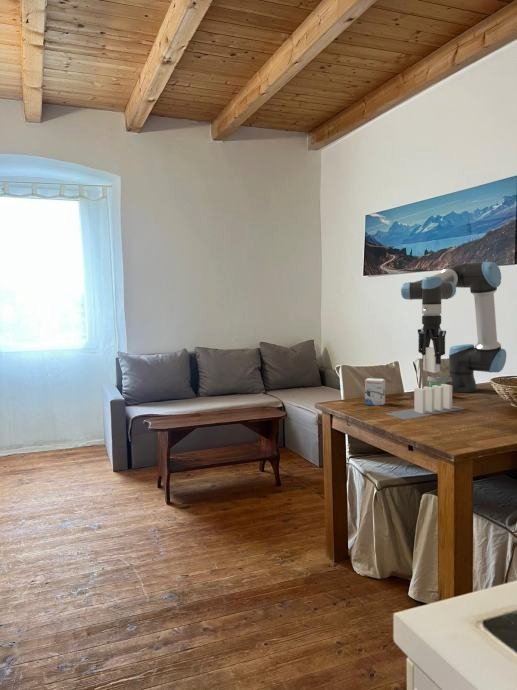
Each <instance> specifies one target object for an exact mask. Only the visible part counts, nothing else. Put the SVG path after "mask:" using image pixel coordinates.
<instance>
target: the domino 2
mask: <svg viewBox="0 0 517 690" xmlns="http://www.w3.org/2000/svg"><path fill="white" fill-rule="evenodd" d="M434 355H435V352H434V346H433V347H430V346H429V347H426V371H425V372H428V373H434V374H435V373H437V372H433V359H434Z"/></svg>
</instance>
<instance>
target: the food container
mask: <svg viewBox="0 0 517 690" xmlns="http://www.w3.org/2000/svg"><path fill="white" fill-rule="evenodd" d="M448 377H449V376H448ZM448 377H442V376H431V375H430V374H428V376H427V379H426V380H427V381H428V387H431V388H432V386H433V385H436V386H441V384H446V385H451V382H452V378H451V377H449V378H448Z"/></svg>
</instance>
